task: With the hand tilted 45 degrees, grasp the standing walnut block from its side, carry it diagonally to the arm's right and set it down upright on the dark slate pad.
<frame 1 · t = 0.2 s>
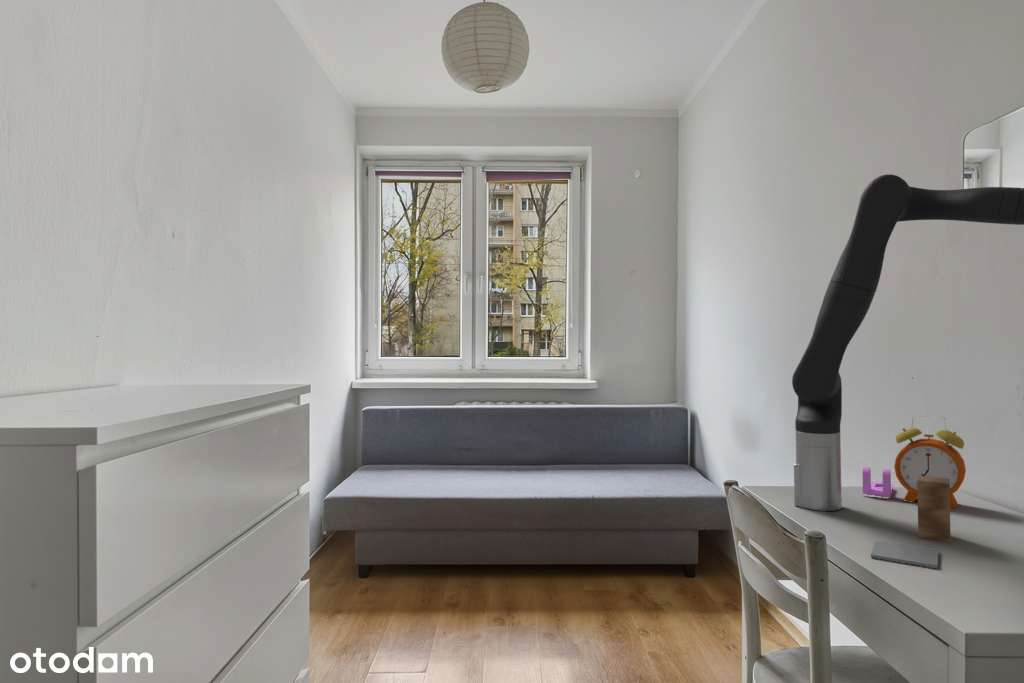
slate pad: (905, 555, 107), on the table
walnut block: (934, 536, 117), on the table
bracket: (878, 493, 151), on the table
alarm clock: (930, 503, 141), on the table
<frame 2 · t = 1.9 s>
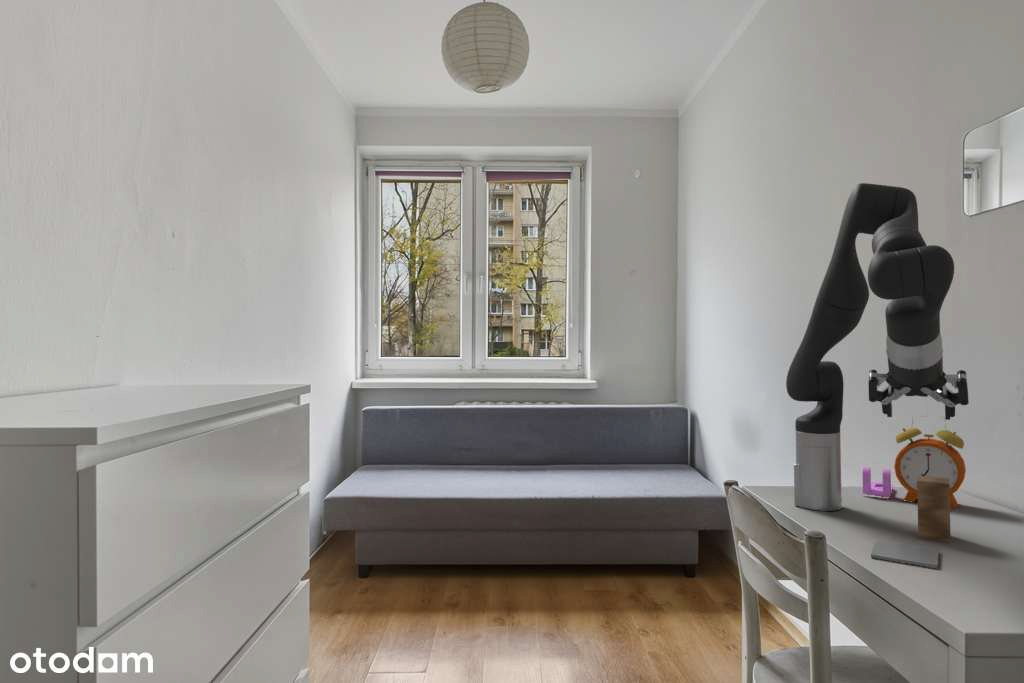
hand: (917, 414, 108), 25 cm above the table, tool tilted 45°, fingers open, 8 cm apart
nothing on the table moved.
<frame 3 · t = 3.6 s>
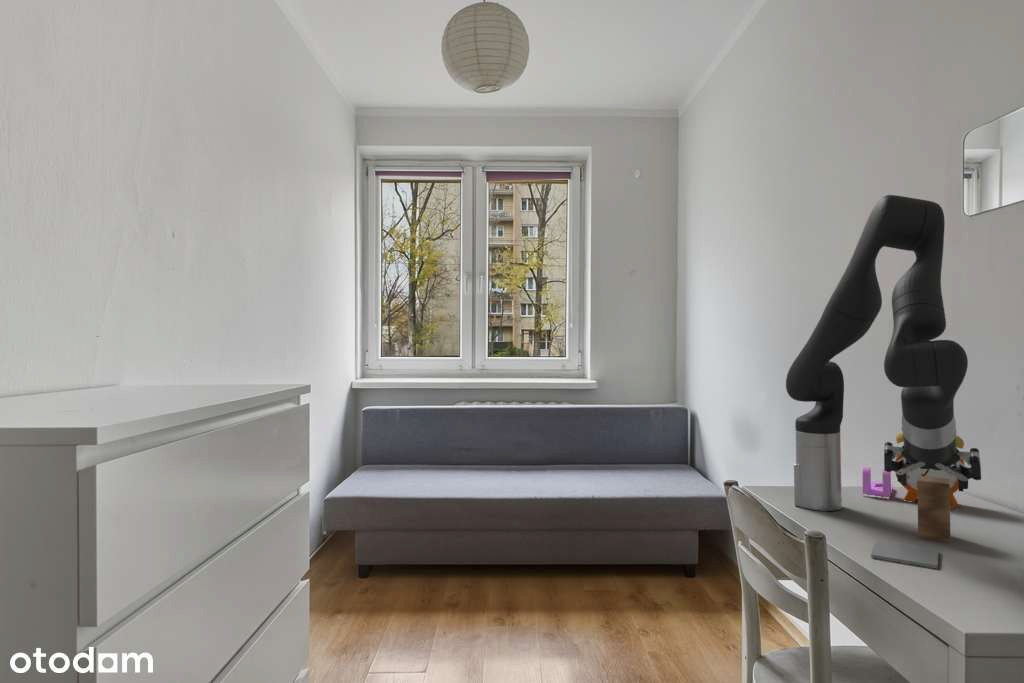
hand: (931, 484, 112), 11 cm above the table, tool tilted 45°, fingers open, 8 cm apart
nothing on the table moved.
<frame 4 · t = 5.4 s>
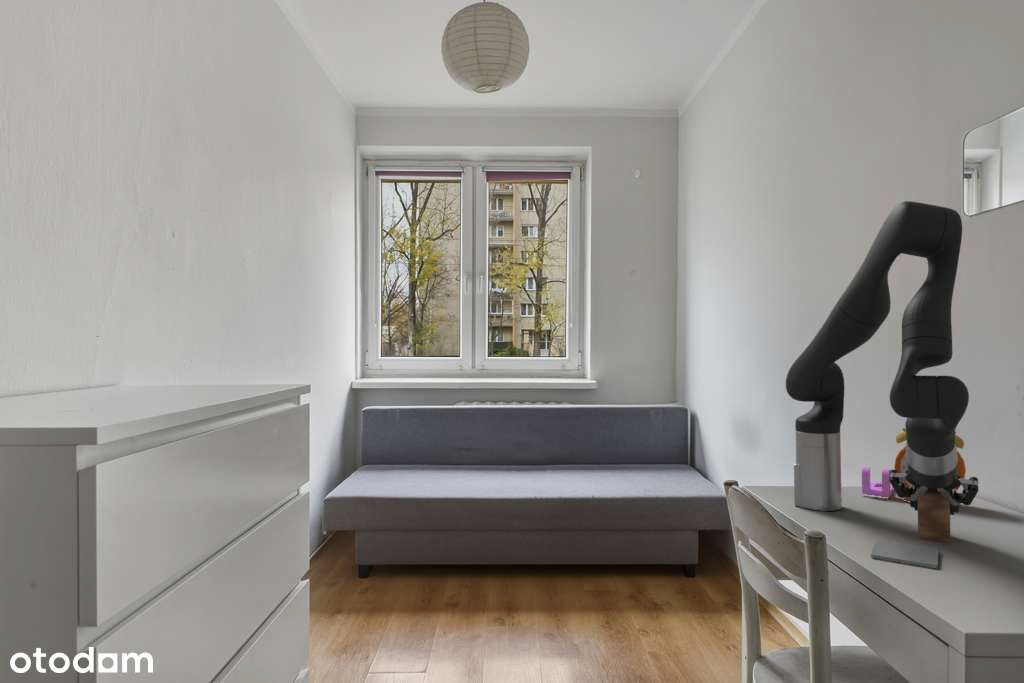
hand: (934, 508, 118), 5 cm above the table, tool tilted 45°, fingers closed on walnut block, 5 cm apart
walnut block: (934, 536, 117), on the table, touching gripper
everything else where it was.
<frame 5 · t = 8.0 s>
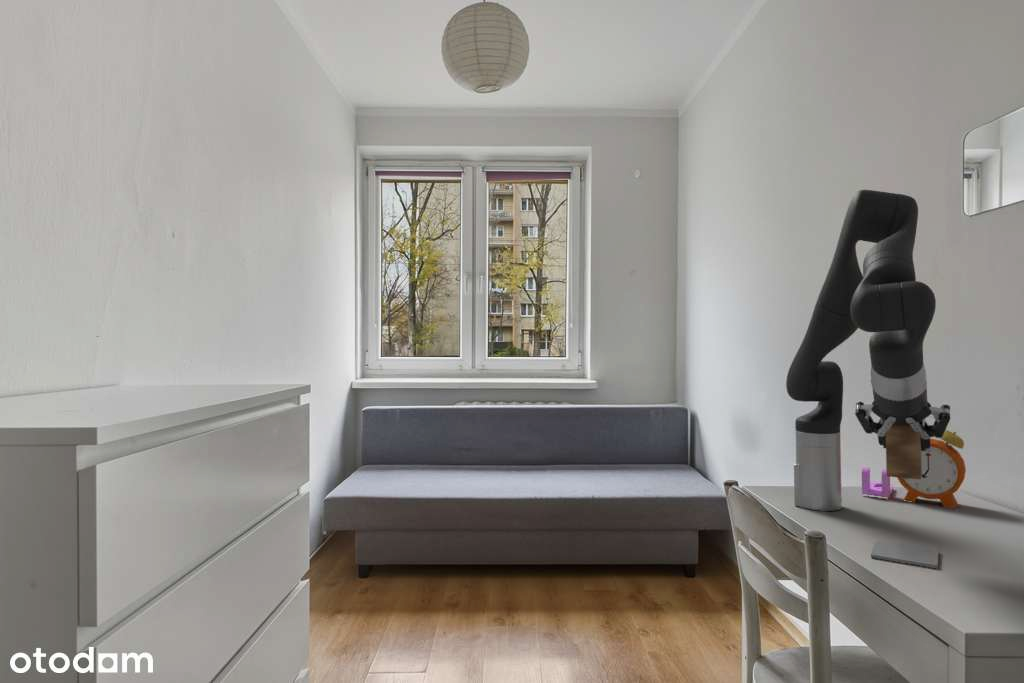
hand: (904, 445, 108), 19 cm above the table, tool tilted 45°, fingers closed on walnut block, 5 cm apart
walnut block: (904, 475, 107), point 14 cm above the table, touching gripper
everything else where it was.
when the fingers open (6 cm above the table, at t = 10.8 s): walnut block stays where it is, resting on slate pad.
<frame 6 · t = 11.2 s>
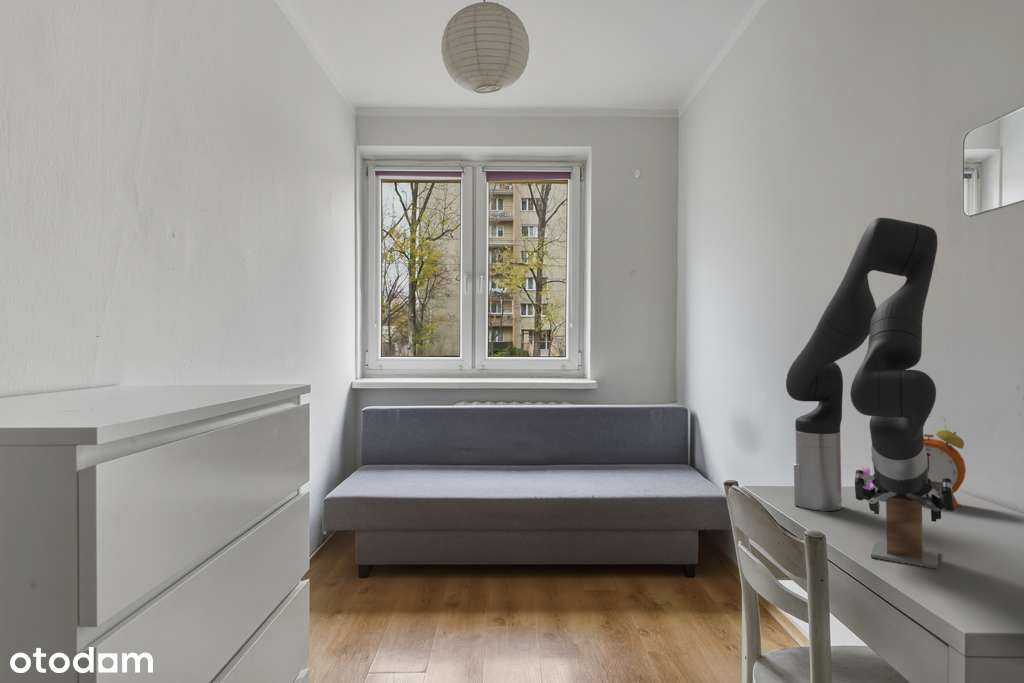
hand: (904, 513, 108), 7 cm above the table, tool tilted 45°, fingers open, 8 cm apart
walnut block: (905, 552, 107), point 1 cm above the table, touching slate pad
everything else where it was.
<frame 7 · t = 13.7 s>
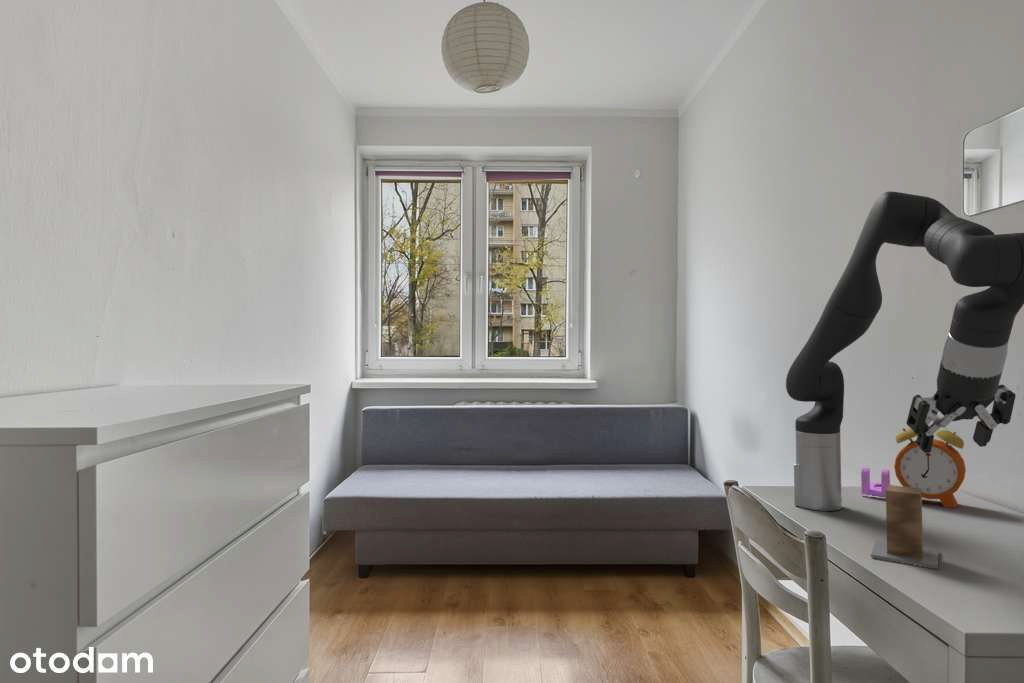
hand: (951, 446, 98), 21 cm above the table, tool tilted 30°, fingers open, 8 cm apart
nothing on the table moved.
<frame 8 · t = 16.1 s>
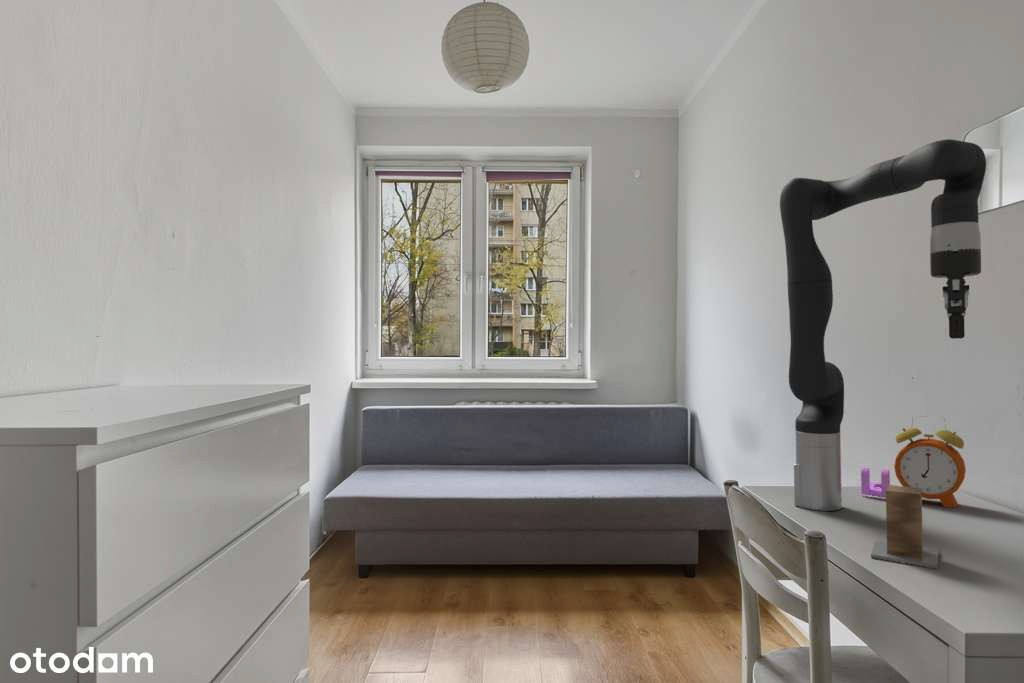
hand: (956, 338, 111), 38 cm above the table, tool pointing down, fingers open, 8 cm apart
nothing on the table moved.
at the end: walnut block inside the target area on the slate pad (0.1 cm from its centre), point 0.6 cm above the slate pad's base; walnut block tilted 0°; the gripper is holding nothing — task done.
